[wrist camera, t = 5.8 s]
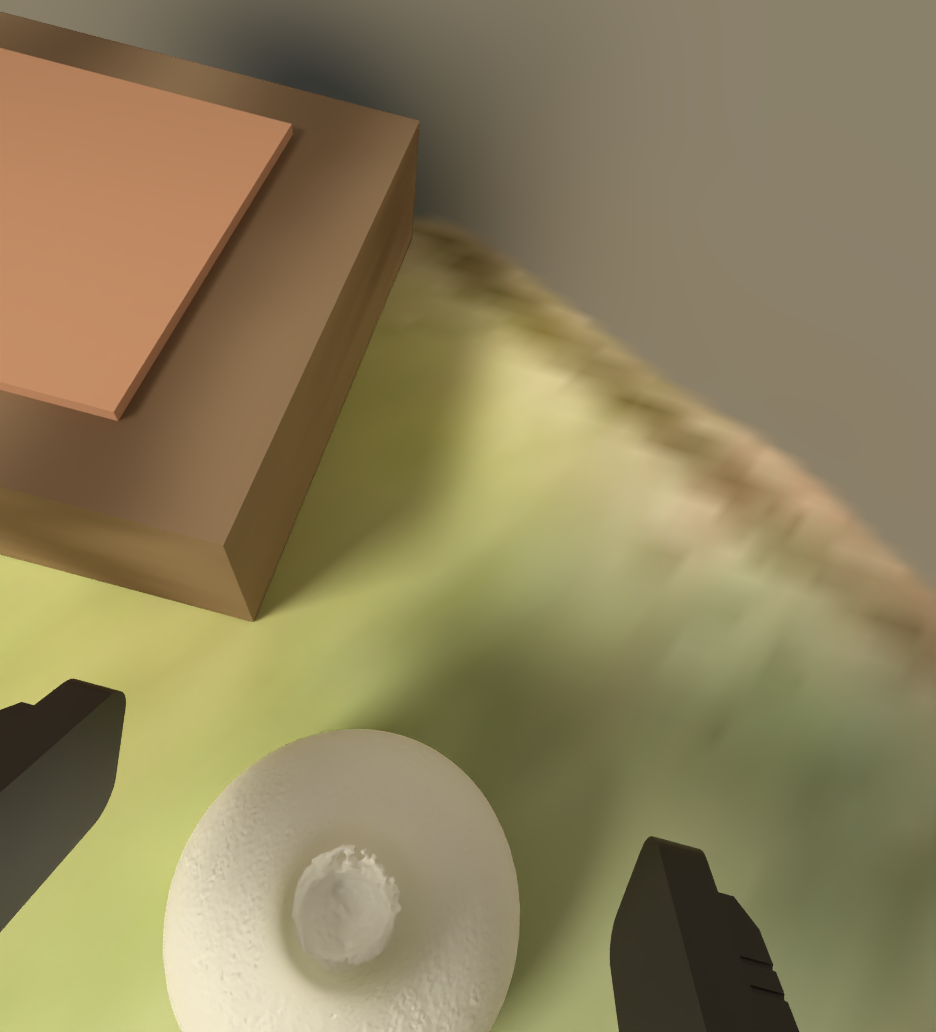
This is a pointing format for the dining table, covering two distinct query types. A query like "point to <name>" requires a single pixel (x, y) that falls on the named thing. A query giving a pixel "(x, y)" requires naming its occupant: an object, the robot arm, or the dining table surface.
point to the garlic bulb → (344, 896)
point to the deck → (220, 356)
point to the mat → (110, 223)
